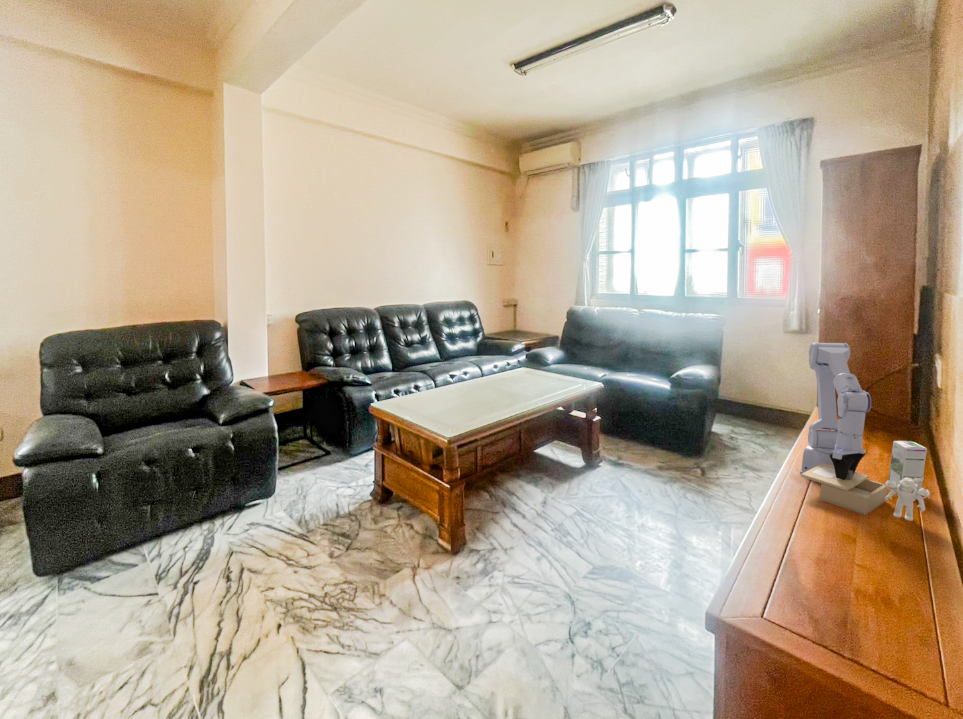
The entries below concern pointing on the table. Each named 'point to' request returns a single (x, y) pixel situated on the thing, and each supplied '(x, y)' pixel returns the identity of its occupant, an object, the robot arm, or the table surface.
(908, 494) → the blocky character figurine
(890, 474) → the syrup box
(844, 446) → the robot arm
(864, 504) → the mailer box
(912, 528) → the table surface
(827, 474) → the mailer lid
